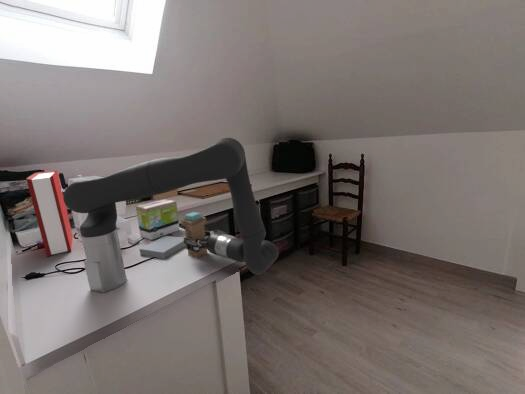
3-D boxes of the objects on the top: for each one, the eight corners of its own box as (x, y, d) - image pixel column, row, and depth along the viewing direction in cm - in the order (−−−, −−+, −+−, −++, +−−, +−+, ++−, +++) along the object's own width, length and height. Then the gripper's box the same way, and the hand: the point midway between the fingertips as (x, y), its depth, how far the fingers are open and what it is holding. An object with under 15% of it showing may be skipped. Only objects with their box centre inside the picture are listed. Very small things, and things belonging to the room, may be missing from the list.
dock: (164, 258, 100) (163, 252, 99) (140, 254, 105) (139, 248, 104) (188, 244, 112) (187, 238, 112) (166, 241, 117) (165, 235, 117)
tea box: (152, 240, 119) (146, 208, 115) (140, 236, 125) (134, 205, 121) (180, 230, 130) (176, 200, 127) (168, 226, 136) (164, 198, 133)
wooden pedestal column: (210, 252, 103) (205, 217, 99) (196, 259, 98) (191, 222, 95) (199, 249, 107) (195, 215, 103) (185, 255, 102) (180, 219, 99)
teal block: (201, 221, 99) (200, 213, 99) (192, 224, 96) (191, 216, 96) (194, 219, 102) (193, 211, 101) (185, 222, 99) (184, 214, 98)
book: (71, 251, 112) (52, 175, 105) (47, 257, 108) (26, 178, 101) (72, 234, 135) (57, 170, 127) (52, 238, 131) (35, 172, 123)
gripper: (238, 228, 95) (208, 221, 105) (206, 242, 85) (176, 232, 95) (239, 248, 97) (210, 239, 107) (208, 264, 86) (179, 252, 97)
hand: (194, 236), depth 101 cm, fingers open, 8 cm apart
